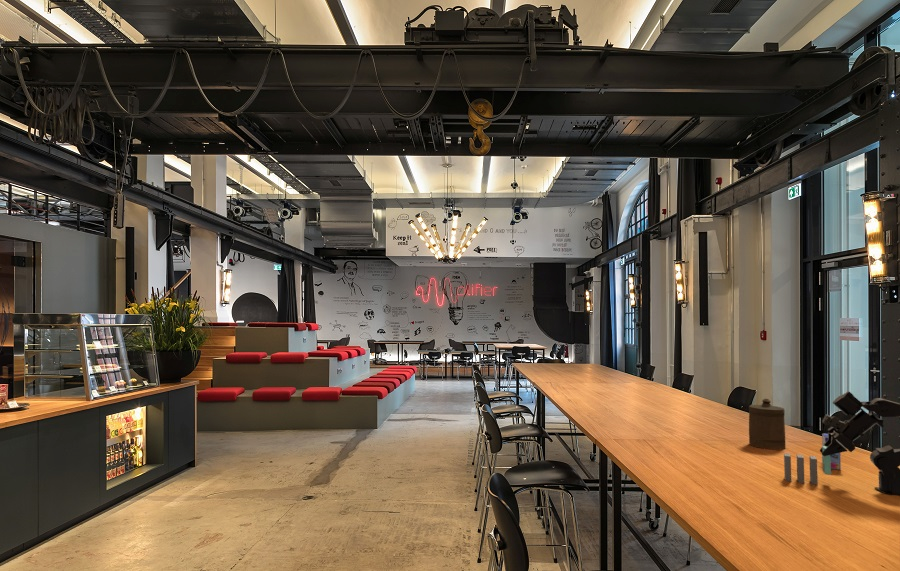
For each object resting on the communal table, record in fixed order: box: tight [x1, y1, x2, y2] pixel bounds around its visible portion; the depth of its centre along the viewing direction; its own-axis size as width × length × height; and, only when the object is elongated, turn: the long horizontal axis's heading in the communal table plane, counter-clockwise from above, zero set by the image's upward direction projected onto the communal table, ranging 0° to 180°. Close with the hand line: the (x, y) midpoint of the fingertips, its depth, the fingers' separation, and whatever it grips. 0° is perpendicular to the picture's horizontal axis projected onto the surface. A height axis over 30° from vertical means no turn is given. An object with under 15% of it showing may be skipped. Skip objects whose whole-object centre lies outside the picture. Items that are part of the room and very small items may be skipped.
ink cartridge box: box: [821, 433, 842, 471], centre depth 222 cm, size 10×6×14 cm, turn 152°
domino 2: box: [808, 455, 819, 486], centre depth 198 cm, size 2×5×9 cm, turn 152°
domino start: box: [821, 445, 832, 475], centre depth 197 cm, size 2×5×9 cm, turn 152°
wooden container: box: [748, 398, 787, 450], centre depth 258 cm, size 15×15×22 cm
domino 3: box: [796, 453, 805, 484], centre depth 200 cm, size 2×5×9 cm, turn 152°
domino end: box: [783, 452, 792, 482], centre depth 202 cm, size 2×5×9 cm, turn 152°
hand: (821, 453), depth 197 cm, fingers closed on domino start, 5 cm apart
